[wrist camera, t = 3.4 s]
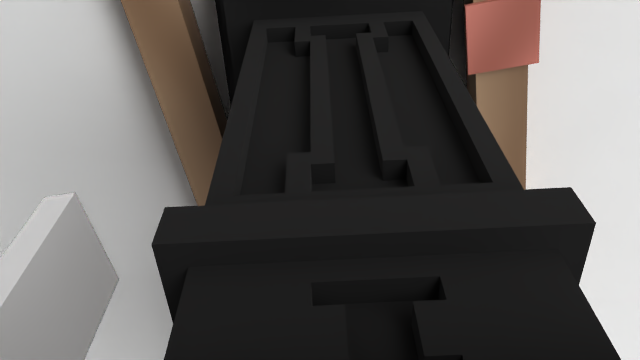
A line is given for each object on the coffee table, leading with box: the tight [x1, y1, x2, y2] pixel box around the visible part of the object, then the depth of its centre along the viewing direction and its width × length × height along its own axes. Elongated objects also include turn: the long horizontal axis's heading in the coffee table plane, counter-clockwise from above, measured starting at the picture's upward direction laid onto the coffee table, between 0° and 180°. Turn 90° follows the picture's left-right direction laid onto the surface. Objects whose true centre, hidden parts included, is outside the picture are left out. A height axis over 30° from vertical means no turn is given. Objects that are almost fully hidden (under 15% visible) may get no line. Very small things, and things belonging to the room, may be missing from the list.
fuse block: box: [121, 0, 541, 206], centre depth 17 cm, size 13×24×15 cm, turn 10°
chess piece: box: [152, 0, 621, 360], centre depth 12 cm, size 8×8×20 cm
